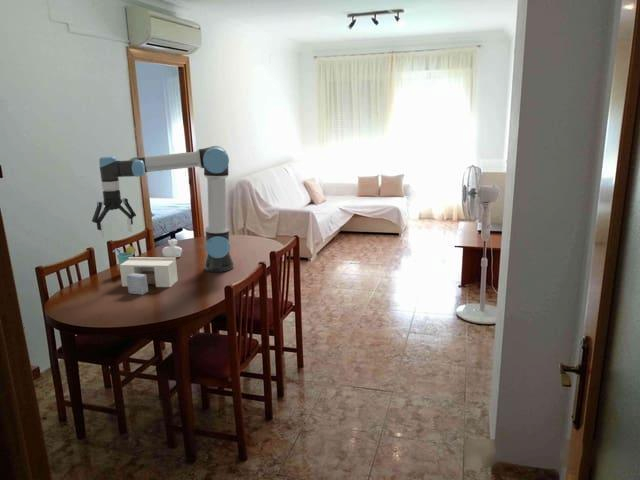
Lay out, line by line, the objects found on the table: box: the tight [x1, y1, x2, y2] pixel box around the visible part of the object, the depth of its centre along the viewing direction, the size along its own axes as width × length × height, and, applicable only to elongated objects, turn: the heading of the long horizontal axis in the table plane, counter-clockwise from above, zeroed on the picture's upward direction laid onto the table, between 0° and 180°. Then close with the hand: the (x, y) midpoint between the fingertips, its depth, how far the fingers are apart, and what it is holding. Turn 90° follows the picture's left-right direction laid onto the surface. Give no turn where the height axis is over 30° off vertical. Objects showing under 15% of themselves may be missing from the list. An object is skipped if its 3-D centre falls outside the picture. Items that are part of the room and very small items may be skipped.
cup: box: [111, 245, 136, 265], centre depth 258 cm, size 14×8×15 cm, turn 157°
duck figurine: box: [161, 238, 183, 258], centre depth 291 cm, size 12×8×11 cm
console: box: [119, 256, 179, 288], centre depth 244 cm, size 24×10×12 cm, turn 84°
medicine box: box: [127, 273, 149, 295], centre depth 232 cm, size 8×4×9 cm, turn 71°
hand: (116, 234), depth 240 cm, fingers open, 13 cm apart
